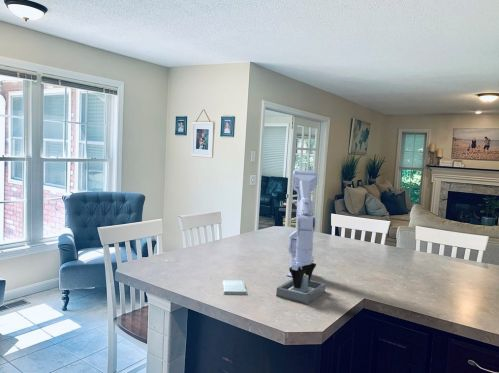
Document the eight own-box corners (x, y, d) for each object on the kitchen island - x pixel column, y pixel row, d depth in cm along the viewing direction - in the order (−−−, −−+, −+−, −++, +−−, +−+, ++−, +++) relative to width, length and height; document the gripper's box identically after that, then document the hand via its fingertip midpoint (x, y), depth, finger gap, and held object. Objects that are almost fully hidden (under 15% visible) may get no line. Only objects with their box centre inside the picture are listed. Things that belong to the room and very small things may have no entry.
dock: (295, 284, 150) (296, 276, 150) (325, 291, 144) (325, 283, 143) (276, 296, 137) (276, 287, 136) (307, 304, 130) (308, 295, 130)
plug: (297, 289, 143) (298, 271, 143) (307, 291, 141) (308, 273, 140) (292, 292, 140) (294, 274, 139) (303, 294, 138) (304, 276, 137)
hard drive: (246, 291, 137) (243, 280, 149) (223, 291, 136) (222, 279, 148) (246, 296, 137) (243, 284, 149) (223, 296, 136) (222, 283, 148)
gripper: (302, 243, 147) (300, 277, 148) (285, 250, 135) (282, 287, 136) (319, 246, 143) (317, 281, 144) (303, 253, 131) (301, 292, 132)
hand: (301, 285), depth 140 cm, fingers open, 7 cm apart
